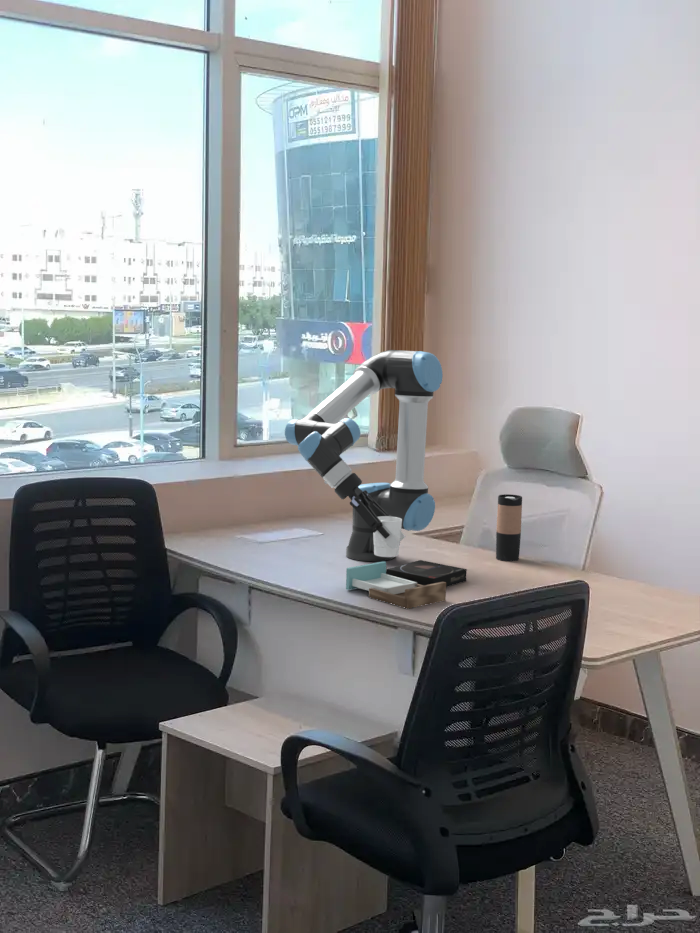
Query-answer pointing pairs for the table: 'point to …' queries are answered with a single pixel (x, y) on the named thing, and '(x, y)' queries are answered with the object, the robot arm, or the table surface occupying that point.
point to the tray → (376, 579)
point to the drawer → (413, 595)
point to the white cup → (380, 544)
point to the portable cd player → (429, 573)
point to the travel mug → (508, 527)
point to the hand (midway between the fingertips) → (399, 542)
